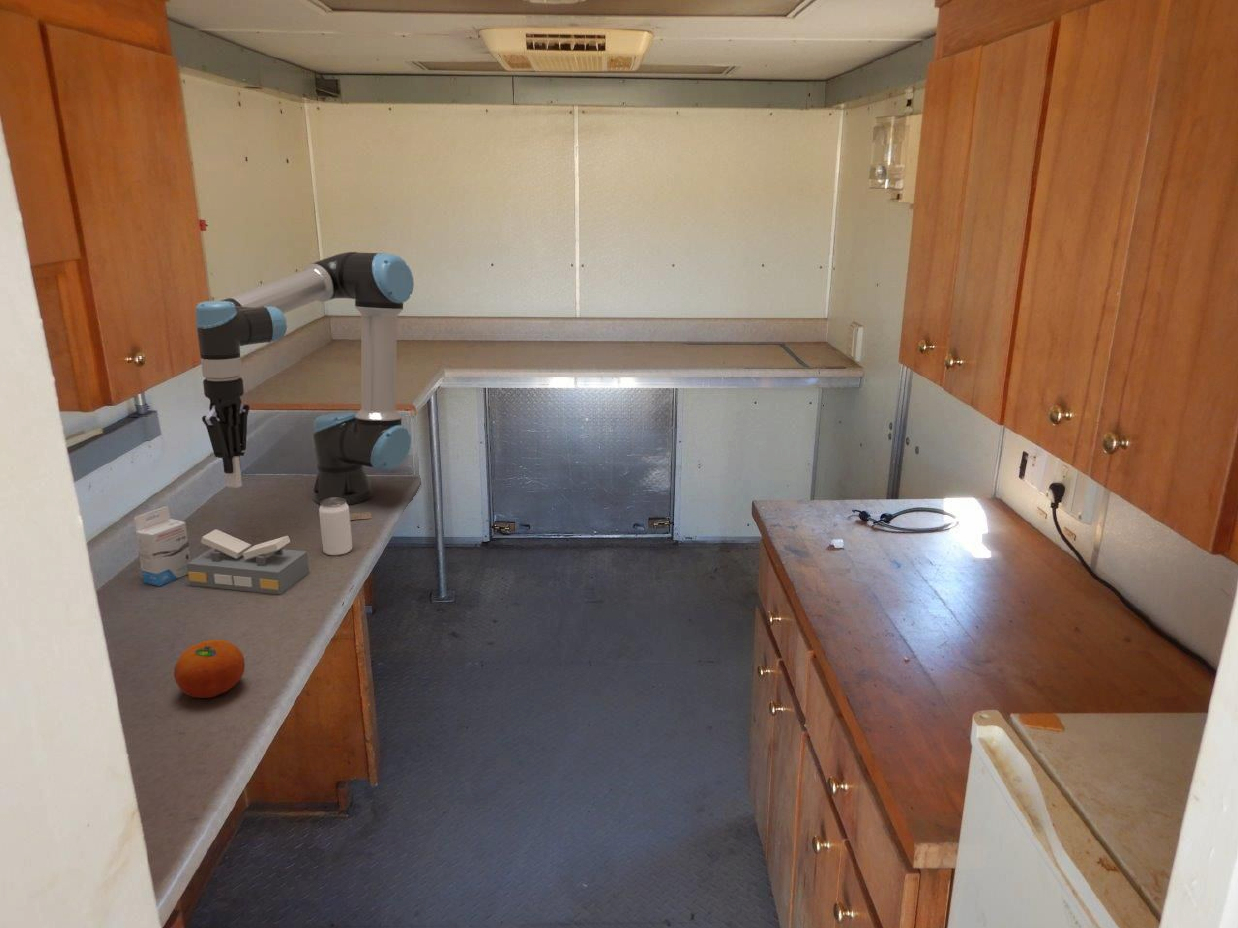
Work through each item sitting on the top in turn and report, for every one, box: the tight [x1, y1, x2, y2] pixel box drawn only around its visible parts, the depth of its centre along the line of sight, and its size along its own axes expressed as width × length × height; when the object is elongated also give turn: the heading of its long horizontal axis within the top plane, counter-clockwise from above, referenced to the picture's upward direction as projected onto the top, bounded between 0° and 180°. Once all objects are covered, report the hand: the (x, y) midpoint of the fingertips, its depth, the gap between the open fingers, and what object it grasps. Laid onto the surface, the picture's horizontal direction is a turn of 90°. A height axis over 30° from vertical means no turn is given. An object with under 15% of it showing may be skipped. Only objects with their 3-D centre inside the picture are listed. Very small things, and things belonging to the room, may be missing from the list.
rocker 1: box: [200, 528, 252, 559], centre depth 185 cm, size 5×8×2 cm, turn 78°
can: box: [318, 498, 353, 556], centre depth 199 cm, size 6×6×12 cm
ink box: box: [133, 505, 192, 587], centre depth 185 cm, size 9×5×15 cm, turn 154°
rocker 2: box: [242, 535, 291, 559], centre depth 183 cm, size 5×8×2 cm, turn 78°
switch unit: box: [187, 545, 310, 596], centre depth 185 cm, size 11×21×7 cm, turn 78°
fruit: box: [173, 638, 246, 699], centre depth 144 cm, size 11×10×8 cm
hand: (234, 486), depth 187 cm, fingers closed
